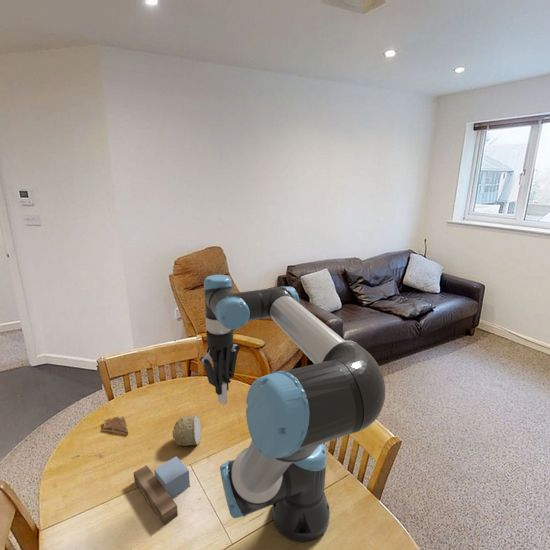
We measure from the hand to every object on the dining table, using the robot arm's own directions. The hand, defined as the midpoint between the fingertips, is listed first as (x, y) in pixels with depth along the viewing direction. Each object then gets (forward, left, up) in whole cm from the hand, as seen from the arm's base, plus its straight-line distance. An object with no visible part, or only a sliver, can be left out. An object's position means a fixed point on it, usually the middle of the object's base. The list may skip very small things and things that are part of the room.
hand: (222, 401), depth 107 cm
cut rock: (+15, +4, -21) cm, 26 cm away
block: (+2, +17, -21) cm, 27 cm away
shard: (+38, +18, -22) cm, 47 cm away
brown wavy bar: (+2, +22, -21) cm, 31 cm away
